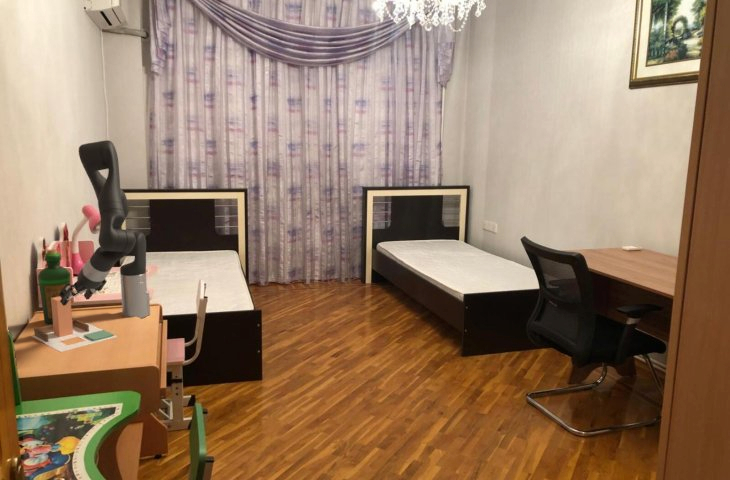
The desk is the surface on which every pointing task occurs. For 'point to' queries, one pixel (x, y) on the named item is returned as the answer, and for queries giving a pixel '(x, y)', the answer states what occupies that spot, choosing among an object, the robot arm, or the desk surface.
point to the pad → (98, 335)
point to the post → (61, 317)
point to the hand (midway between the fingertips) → (74, 300)
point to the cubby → (47, 329)
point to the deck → (77, 332)
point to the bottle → (52, 282)
